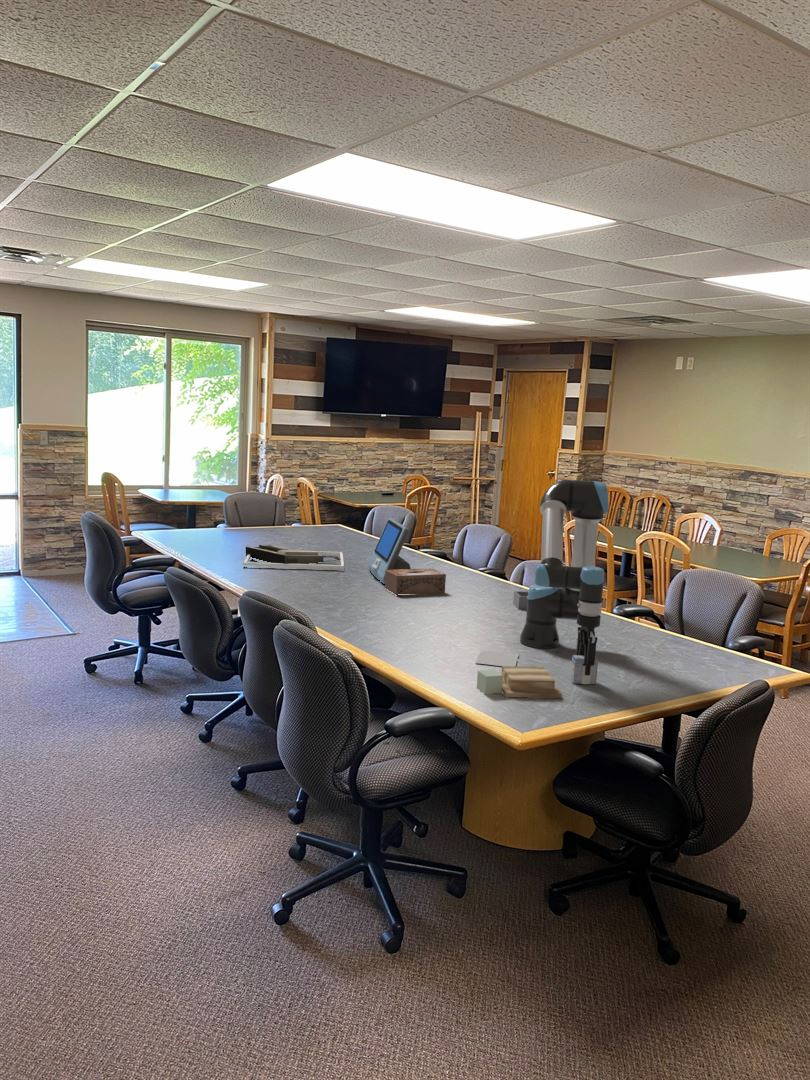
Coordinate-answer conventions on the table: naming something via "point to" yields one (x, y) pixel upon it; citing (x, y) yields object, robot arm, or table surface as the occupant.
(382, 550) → the touchscreen device
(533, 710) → the table surface
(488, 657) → the paper stack
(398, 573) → the tissue box cover
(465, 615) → the table surface
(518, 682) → the pedestal
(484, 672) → the green block
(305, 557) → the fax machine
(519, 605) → the desk organizer
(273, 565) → the document tray rim
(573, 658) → the medicine box
